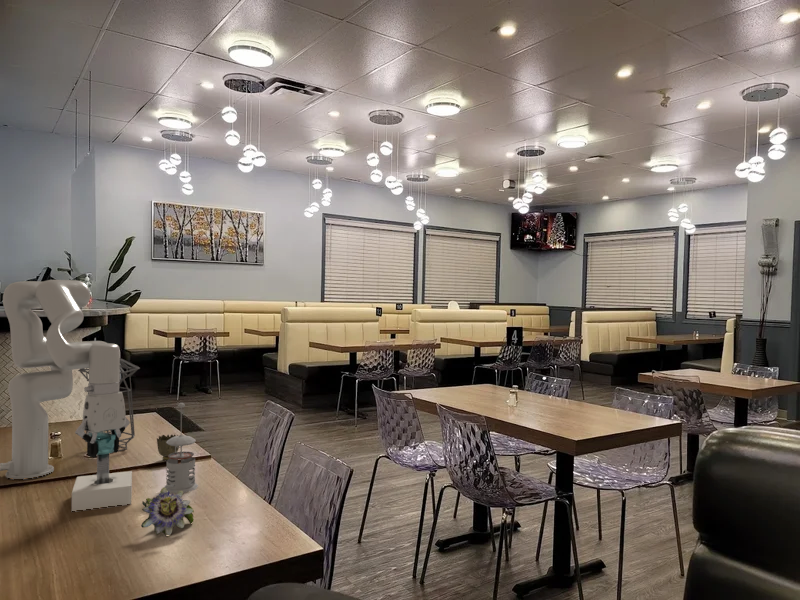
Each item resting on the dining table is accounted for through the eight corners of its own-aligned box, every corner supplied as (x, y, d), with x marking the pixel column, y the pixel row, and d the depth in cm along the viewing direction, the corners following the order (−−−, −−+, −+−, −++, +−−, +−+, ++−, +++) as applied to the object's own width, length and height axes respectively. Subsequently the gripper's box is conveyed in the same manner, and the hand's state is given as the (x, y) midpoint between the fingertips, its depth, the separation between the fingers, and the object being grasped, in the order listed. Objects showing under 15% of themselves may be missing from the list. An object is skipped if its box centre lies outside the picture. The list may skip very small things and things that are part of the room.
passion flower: (168, 558, 135) (140, 527, 129) (152, 535, 143) (125, 505, 137) (208, 523, 141) (183, 491, 135) (190, 502, 149) (167, 472, 142)
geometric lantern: (143, 448, 209) (142, 353, 208) (100, 460, 196) (100, 358, 194) (118, 441, 218) (117, 350, 216) (76, 452, 204) (75, 354, 203)
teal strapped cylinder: (121, 491, 158) (122, 433, 158) (102, 497, 154) (103, 437, 153) (102, 485, 163) (103, 428, 163) (83, 491, 158) (84, 432, 158)
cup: (174, 463, 192) (174, 439, 192) (152, 463, 192) (152, 439, 192) (183, 457, 199) (183, 434, 199) (162, 456, 199) (162, 433, 199)
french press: (164, 495, 162) (165, 407, 161) (160, 483, 172) (161, 400, 172) (200, 490, 166) (201, 404, 166) (195, 478, 176) (195, 397, 176)
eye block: (71, 511, 149) (71, 492, 149) (76, 494, 162) (77, 476, 161) (131, 504, 155) (131, 485, 154) (131, 488, 167) (131, 471, 167)
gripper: (81, 394, 148) (80, 464, 149) (140, 386, 163) (139, 449, 163) (64, 391, 152) (64, 459, 153) (124, 383, 167) (123, 445, 167)
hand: (103, 453), depth 158 cm, fingers closed on teal strapped cylinder, 5 cm apart
